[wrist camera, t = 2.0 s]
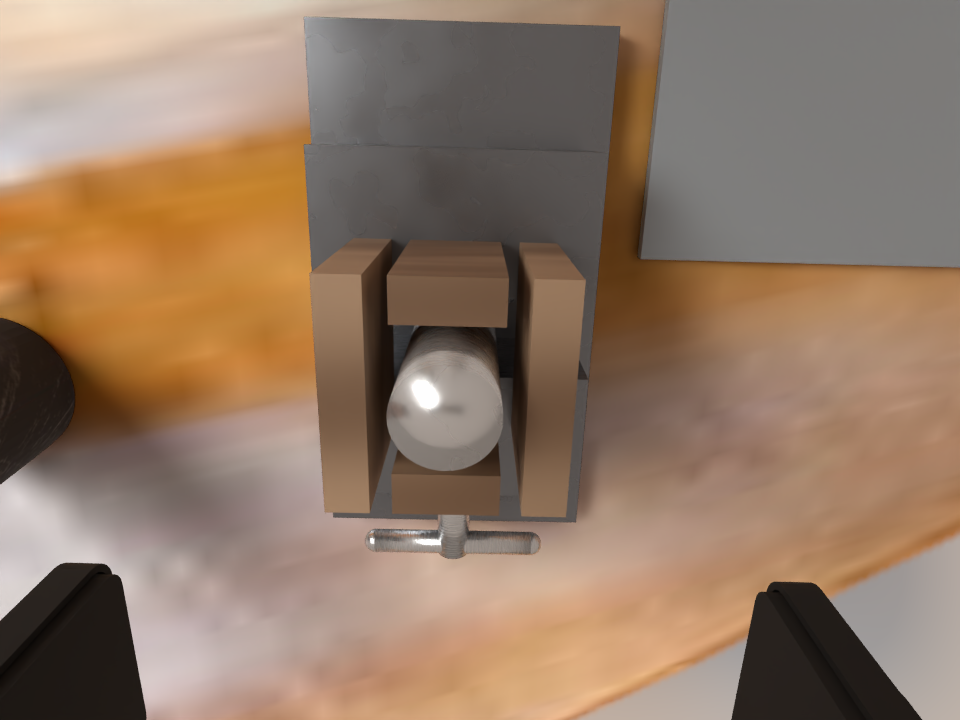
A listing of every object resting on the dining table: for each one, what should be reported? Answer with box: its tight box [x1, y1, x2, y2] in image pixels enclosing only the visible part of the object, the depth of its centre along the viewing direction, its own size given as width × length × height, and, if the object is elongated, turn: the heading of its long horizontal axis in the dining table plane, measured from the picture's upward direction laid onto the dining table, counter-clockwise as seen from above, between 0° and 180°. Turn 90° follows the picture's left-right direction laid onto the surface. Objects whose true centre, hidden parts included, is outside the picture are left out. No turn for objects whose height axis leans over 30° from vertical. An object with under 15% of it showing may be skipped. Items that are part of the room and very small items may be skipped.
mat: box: [637, 0, 960, 267], centre depth 25 cm, size 16×16×1 cm
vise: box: [304, 17, 620, 559], centre depth 23 cm, size 22×12×14 cm, turn 178°
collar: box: [309, 238, 586, 517], centre depth 20 cm, size 7×7×6 cm
